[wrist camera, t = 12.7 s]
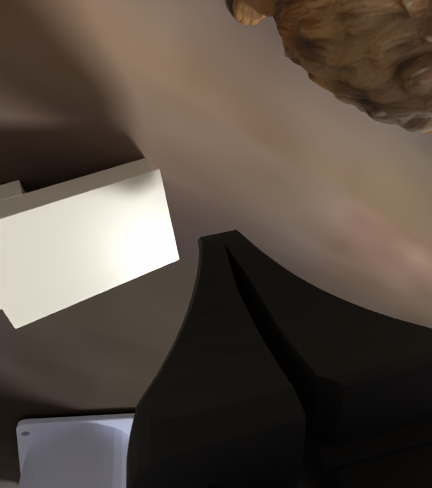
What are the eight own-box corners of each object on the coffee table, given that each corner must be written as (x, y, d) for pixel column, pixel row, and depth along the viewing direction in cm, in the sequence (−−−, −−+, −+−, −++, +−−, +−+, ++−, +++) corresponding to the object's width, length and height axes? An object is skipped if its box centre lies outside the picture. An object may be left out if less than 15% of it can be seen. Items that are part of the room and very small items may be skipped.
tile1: (159, 169, 13) (-48, 234, 11) (179, 259, 16) (15, 328, 13) (145, 157, 14) (-45, 214, 12) (165, 243, 17) (13, 304, 14)
